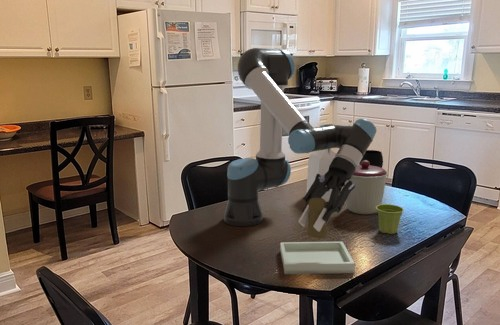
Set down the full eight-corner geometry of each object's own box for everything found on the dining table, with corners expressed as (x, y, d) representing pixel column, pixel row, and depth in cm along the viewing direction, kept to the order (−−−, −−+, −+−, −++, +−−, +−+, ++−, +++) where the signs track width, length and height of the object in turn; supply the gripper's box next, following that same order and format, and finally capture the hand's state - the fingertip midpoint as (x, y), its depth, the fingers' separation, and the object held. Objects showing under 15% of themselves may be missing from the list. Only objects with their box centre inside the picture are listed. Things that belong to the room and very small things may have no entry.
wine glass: (377, 191, 207) (379, 149, 202) (384, 197, 197) (386, 153, 192) (355, 191, 206) (356, 149, 202) (361, 197, 196) (363, 154, 192)
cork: (326, 238, 127) (327, 202, 125) (306, 237, 128) (306, 201, 126) (327, 230, 133) (328, 196, 131) (307, 229, 134) (307, 195, 132)
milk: (306, 195, 201) (307, 139, 196) (328, 192, 205) (330, 138, 199) (317, 202, 190) (319, 143, 185) (341, 200, 193) (343, 142, 188)
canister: (395, 214, 174) (399, 162, 169) (357, 220, 167) (360, 167, 163) (367, 201, 190) (370, 154, 186) (332, 207, 184) (333, 158, 179)
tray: (284, 274, 125) (284, 264, 124) (280, 251, 141) (280, 242, 140) (354, 273, 125) (354, 263, 124) (342, 250, 141) (342, 241, 140)
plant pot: (390, 225, 162) (391, 202, 161) (407, 233, 154) (409, 210, 152) (369, 228, 159) (370, 205, 157) (386, 237, 151) (387, 213, 149)
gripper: (375, 175, 130) (339, 241, 123) (327, 165, 144) (292, 225, 137) (365, 160, 126) (327, 228, 119) (317, 152, 139) (280, 212, 132)
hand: (308, 226), depth 128 cm, fingers closed on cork, 5 cm apart
